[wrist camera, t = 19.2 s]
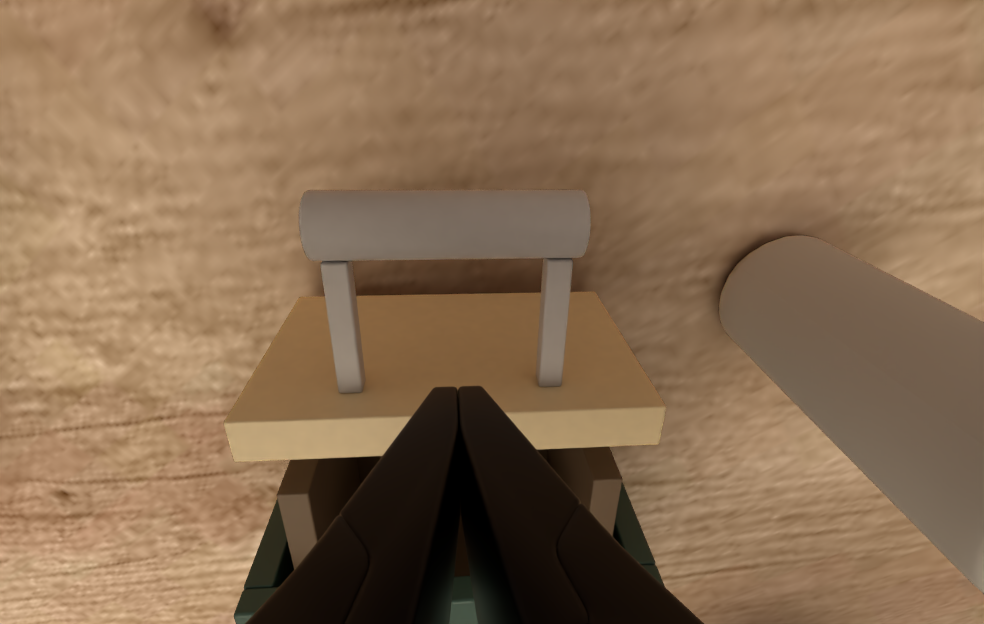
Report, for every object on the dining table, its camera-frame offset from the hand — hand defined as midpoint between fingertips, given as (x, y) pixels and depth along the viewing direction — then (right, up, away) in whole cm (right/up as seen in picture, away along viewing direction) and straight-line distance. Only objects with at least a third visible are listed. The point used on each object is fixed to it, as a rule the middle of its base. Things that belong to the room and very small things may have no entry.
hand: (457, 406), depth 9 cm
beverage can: (+12, +3, +11) cm, 16 cm away
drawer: (-1, 0, +10) cm, 10 cm away
